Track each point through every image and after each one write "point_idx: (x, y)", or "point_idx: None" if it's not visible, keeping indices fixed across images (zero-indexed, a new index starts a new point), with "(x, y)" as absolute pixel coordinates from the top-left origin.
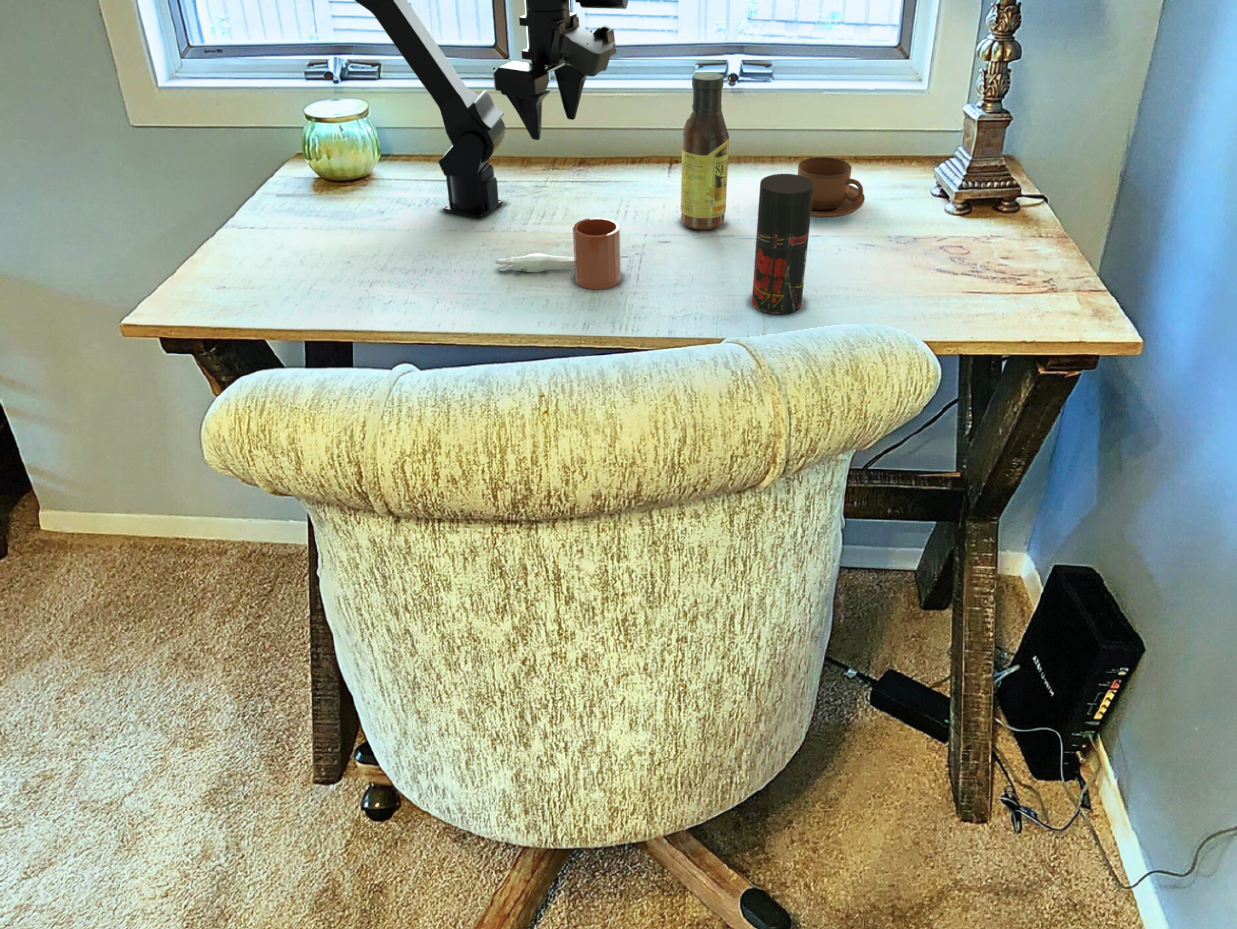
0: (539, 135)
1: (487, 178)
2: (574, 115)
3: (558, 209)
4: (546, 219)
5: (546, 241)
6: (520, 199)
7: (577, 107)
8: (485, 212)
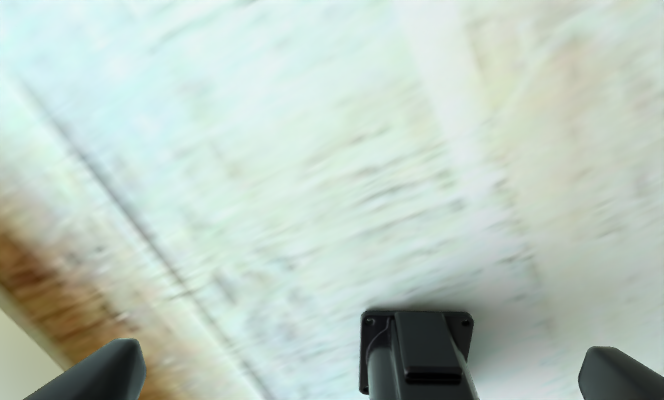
0: (633, 364)
1: (438, 382)
2: (115, 354)
3: (329, 178)
4: (405, 172)
5: (552, 91)
6: (318, 290)
7: (41, 392)
8: (444, 314)
